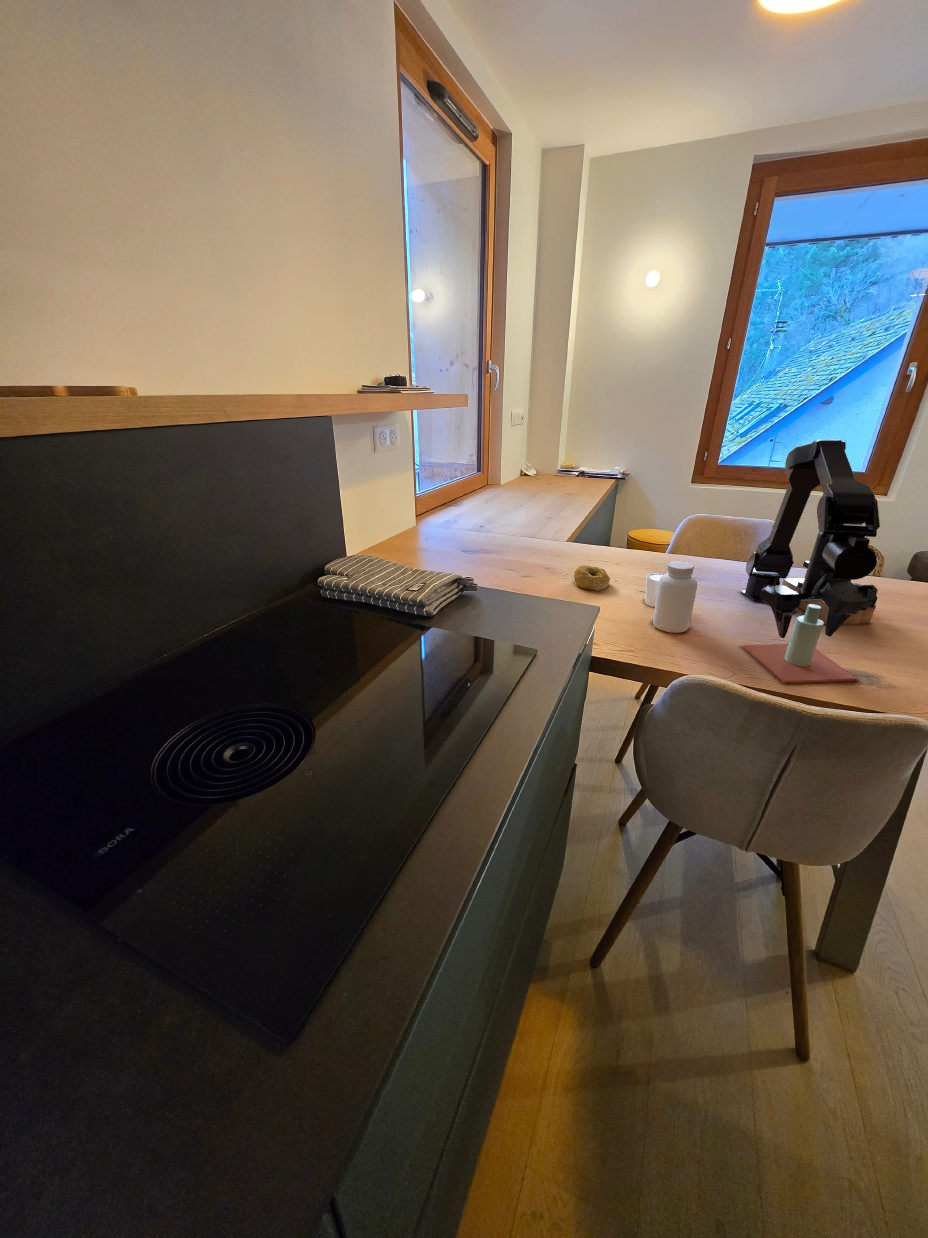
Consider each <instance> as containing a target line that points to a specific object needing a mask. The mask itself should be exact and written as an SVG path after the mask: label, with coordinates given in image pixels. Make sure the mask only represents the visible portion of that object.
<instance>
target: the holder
mask: <svg viewBox="0 0 928 1238" xmlns="http://www.w3.org/2000/svg"><path fill="white" fill-rule="evenodd" d="M804 578H805V577H803V578H802V577H799V578H786V579H783V580H782V583H781V585H784V586H786V587H788V588H790V589H791V590H793V591H801V589H800V588H799V587H797V584H798V582H799V581H804ZM809 604H815V605H819V606H821V611H820V614H819V617H818V619H820V620H822V621H823V623H824V624H825V625H826V622H827V616H828V610H829V607H828V606H827V605H826V603H825V602H824V601H801V603H800V606H799V607H798V608H800V609H801V610H802V611H804V612H806V609H807V606H808V605H809ZM876 608H877V605H876V604H875V606H874V607H871V608H867V610H865V611H860V612H858V613H857V614H852V615H851V616H850V617H849V618H848V619H847V620H846V621H845V622H844V623H843V624H842V625H854V624H855V625H857V624H859V625H860V624H861V625H862V624H871V621H872V618H873V616H874V613H875V610H876Z"/></svg>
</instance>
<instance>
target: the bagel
mask: <svg viewBox="0 0 928 1238" xmlns="http://www.w3.org/2000/svg"><path fill="white" fill-rule="evenodd" d="M573 579H574V580H575V581H574V583H575V582H576V583H575V585H576V586H577V587H580V588H581V589H586V590H591V591H597V592H599V591H602V590H604V589H606V588H607V587H608V586H609V583H610V581H611V577H610V576H609V575H608V573H607V571H606V570H605V569H604V568H602V567H599V566H592V565H586V564H584V565H583V564H582V565H579V566H578V567H577V568H576V569H575V570H574V573H573Z"/></svg>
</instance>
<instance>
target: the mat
mask: <svg viewBox="0 0 928 1238" xmlns="http://www.w3.org/2000/svg"><path fill="white" fill-rule="evenodd" d="M788 644H789V643H774V644H747V645H746V644H744V645H742V649H744V650H745V651H746V652H747V653H749V654H750V656H752V657H753V658H754V659H755V660H756V661H758V663H760V664H761V665H762V666H764V668H766V669H767V670H768V671H769V672H770V673H771V674H772V675H774V676H775V677H776V678H777V679H778V680H779V681H780V682H782V683H783V684H802V683H803V684H804V683H827V682H828V683H829V682H830V683H832V682H833V683H834V682H857V680H858V678H857V677H856V676H854V675H853V674H851V673H850V672H849V671H847V669H845V668H843V667H842V666H840V665H839V664H837V663H836V662H835V661H833V660H832V659H830V658H829V657H828V656H826V655H825V654H824V653H822V652H820V651H819V650H818V649H817V648H815V651H814V654H813V657H812V660H811V663H810V665H809V666H796V665H793V664H790V663H788V662H787V661H786V660H785V658H784V657H785V654H786V651H787V648H788Z"/></svg>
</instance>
